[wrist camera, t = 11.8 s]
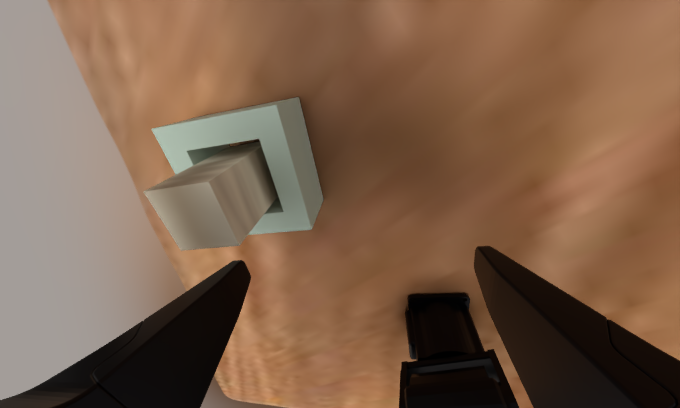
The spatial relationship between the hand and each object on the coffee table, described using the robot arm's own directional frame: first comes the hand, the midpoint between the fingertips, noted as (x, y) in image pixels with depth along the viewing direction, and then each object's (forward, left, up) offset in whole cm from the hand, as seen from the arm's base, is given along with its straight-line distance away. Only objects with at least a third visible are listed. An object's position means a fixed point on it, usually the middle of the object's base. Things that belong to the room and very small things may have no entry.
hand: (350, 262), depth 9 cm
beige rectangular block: (+9, -1, -13) cm, 16 cm away
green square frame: (+9, -1, -13) cm, 16 cm away
